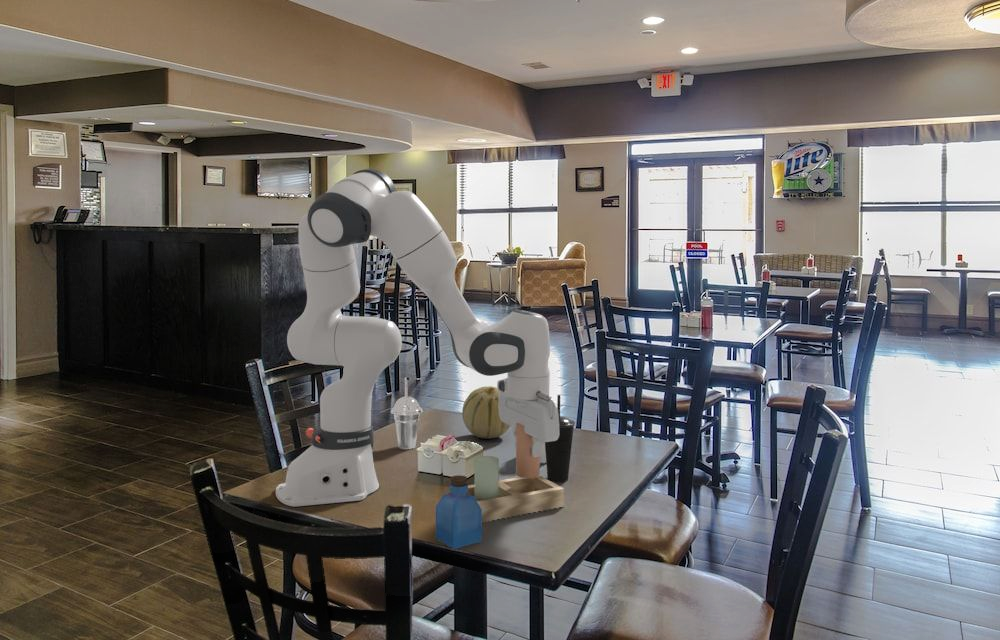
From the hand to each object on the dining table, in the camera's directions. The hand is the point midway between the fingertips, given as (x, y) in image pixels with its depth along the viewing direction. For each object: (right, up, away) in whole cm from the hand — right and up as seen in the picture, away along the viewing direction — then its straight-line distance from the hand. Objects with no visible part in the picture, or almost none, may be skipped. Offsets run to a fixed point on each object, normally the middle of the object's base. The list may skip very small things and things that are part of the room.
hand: (527, 452), depth 159 cm
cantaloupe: (-9, -6, +54) cm, 56 cm away
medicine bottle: (+3, -8, +34) cm, 35 cm away
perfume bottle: (-14, -14, -18) cm, 26 cm away
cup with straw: (-31, -7, +44) cm, 54 cm away
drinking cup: (+8, -10, +18) cm, 22 cm away
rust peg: (0, -5, 0) cm, 5 cm away
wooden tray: (-4, -12, 0) cm, 12 cm away
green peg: (-9, -12, -3) cm, 15 cm away
